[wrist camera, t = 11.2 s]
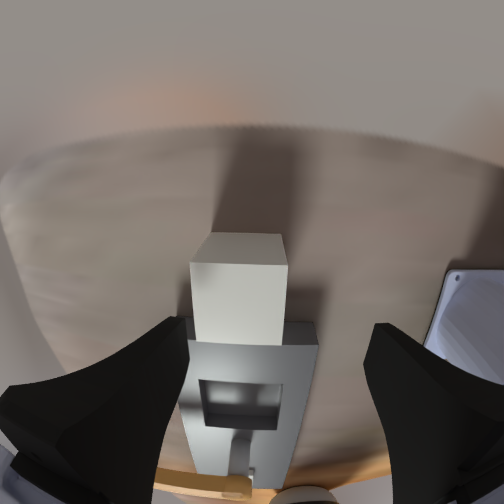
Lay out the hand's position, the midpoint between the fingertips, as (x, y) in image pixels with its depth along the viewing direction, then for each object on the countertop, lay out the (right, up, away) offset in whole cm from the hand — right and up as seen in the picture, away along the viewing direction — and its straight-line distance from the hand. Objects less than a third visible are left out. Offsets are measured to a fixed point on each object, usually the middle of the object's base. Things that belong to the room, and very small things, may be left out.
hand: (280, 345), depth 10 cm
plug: (-1, +3, +7) cm, 7 cm away
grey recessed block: (-2, -11, +11) cm, 16 cm away
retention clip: (-5, -14, +5) cm, 16 cm away
